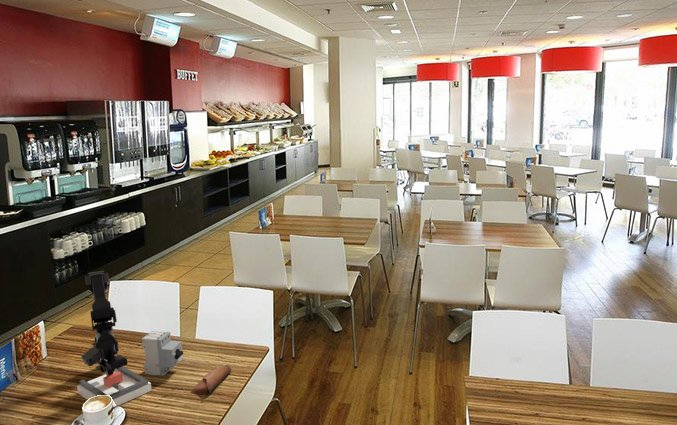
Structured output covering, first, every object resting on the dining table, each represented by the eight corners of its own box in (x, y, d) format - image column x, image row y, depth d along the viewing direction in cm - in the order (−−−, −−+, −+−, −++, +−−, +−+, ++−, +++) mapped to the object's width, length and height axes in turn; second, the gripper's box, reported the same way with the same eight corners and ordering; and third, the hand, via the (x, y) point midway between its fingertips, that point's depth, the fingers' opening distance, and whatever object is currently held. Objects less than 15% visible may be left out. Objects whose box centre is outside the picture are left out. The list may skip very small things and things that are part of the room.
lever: (104, 391, 200) (103, 377, 199) (120, 384, 205) (118, 371, 204) (108, 393, 199) (106, 379, 198) (123, 386, 203) (122, 373, 202)
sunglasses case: (211, 370, 217) (218, 357, 215) (226, 379, 216) (233, 367, 214) (188, 393, 199) (196, 379, 197) (204, 404, 199) (211, 390, 197)
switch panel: (78, 393, 201) (77, 385, 201) (123, 374, 215) (122, 367, 214) (104, 411, 189) (103, 403, 188) (151, 390, 202) (150, 382, 202)
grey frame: (79, 384, 202) (79, 381, 201) (120, 368, 214) (120, 364, 213) (106, 402, 189) (106, 398, 189) (148, 384, 201) (148, 380, 201)
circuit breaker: (178, 377, 212) (175, 340, 209) (144, 374, 215) (141, 338, 212) (187, 367, 219) (184, 332, 216) (154, 365, 222) (151, 330, 219)
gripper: (71, 339, 199) (76, 379, 202) (95, 353, 188) (100, 395, 191) (101, 329, 208) (105, 367, 211) (126, 342, 196) (130, 382, 199)
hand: (109, 378), depth 203 cm, fingers closed
